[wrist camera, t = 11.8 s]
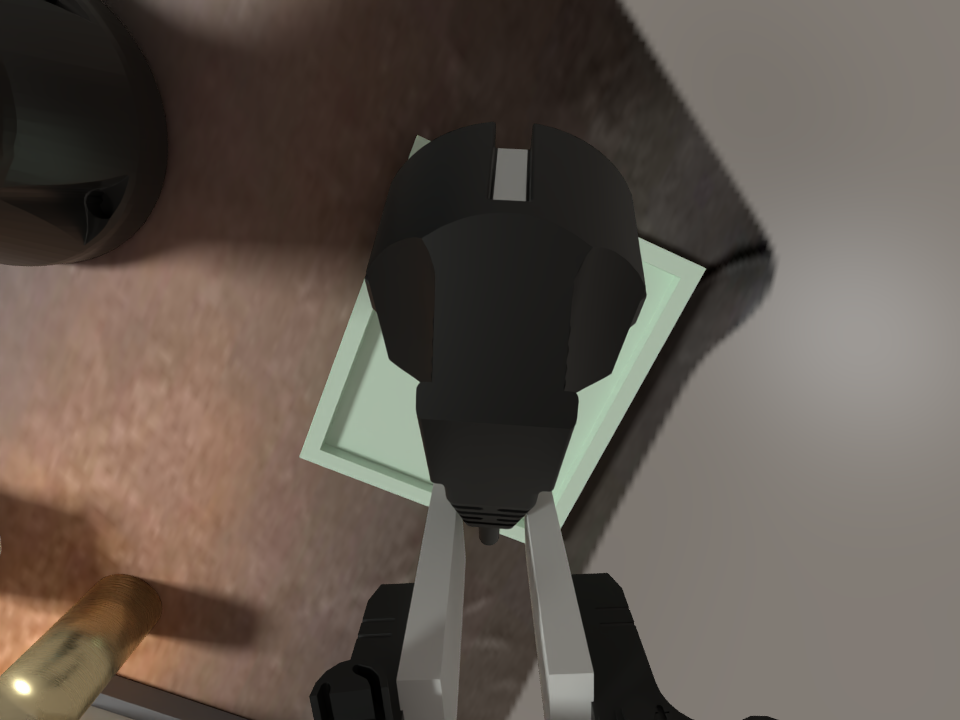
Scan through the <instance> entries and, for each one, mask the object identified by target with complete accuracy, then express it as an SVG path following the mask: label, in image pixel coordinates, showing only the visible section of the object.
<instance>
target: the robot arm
mask: <svg viewBox="0 0 960 720" xmlns="http://www.w3.org/2000/svg"><path fill="white" fill-rule="evenodd" d="M167 155H168V139H167V127H166V120H165V114H164V109H163V105H162V101H161V97H160V94H159V91H158V88H157V85H156V83H155V80H154V78H153V75H152V73H151V71H150V68H149V66H148V64H147V62H146V60H145V58H144V57H143V55H142V53H141V51H140V49H139V48H138V46H137V45H136V43H135V41H134V40H133V38H132V37H131V36H130V34H129V33H128V31H127V30H126V29H125V27H124V26H123V25H122V24H121V22H120V21H119V20H118V19H117V18H116V17H115V15H114V14H113V13H112V12H111V11H110V10H109V9H108V8H107V7H106V6H105V5H104V4H103V3H102V2H101V1H100V0H0V264H5V265H14V266H47V265H55V264H63V263H71V262H78V261H84V260H88V259H91V258H95V257H98V256H100V255H103V254H105V253H107V252H109V251H111V250H113V249H115V248H117V247H118V246H120V245H121V244H123V243H124V242H125V241H127V240H128V239H129V238H130V237H131V236H132V235H133V234H134V233H135V232H136V231H137V230H138V229H139V228H140V227H141V226H142V224H143V223H144V222H145V221H146V219H147V218H148V216H149V215H150V213H151V211H152V209H153V208H154V206H155V204H156V201H157V199H158V197H159V194H160V191H161V188H162V185H163V181H164V177H165V172H166V166H167ZM524 524H525V547H526V561H527V570H528V579H529V587H530V596H531V605H532V614H533V622H534V631H535V640H536V649H537V657H538V666H539V674H540V684H541V692H542V701H543V710H544V718H545V720H693V719H690V718H689V717H687V716H685V715H684V714H682V713H680V712H679V711H678V710H676V709H675V708H674V707H673V706H672V705H670V704H669V702H668V701H667V700H666V699H665V698H664V696H663V695H662V694H661V692H660V690H659V688H658V687H657V684H656V682H655V679H654V677H653V674H652V671H651V668H650V665H649V662H648V660H647V657H646V654H645V651H644V648H643V646H642V643H641V640H640V638H639V635H638V632H637V629H636V626H635V625H634V620H633V618H632V615H631V612H630V610H629V607H628V604H627V601H626V598H625V596H624V593H623V590H622V588H621V587H620V586H619V585H618V583H616V582H615V580H614V579H613V578H612V577H611V576H610V575H609V574H608V573H599V574H598V573H597V574H574V575H571V572H570V568H569V564H568V559H567V555H566V551H565V546H564V542H563V538H562V533H561V529H560V525H559V521H558V516H557V512H556V508H555V503H554V499H553V495H552V491H551V492H545V491H543V492H540V493H539V494H538V498H537V502H536V505H535V506H534V507H533V508H532V509H531V510H530V511H529V512H528V513H527V514H526V515H525V516H524ZM465 561H466V557H465V545H464V533H463V521H462V518H461V517H460V515H459V514H458V513H457V512H456V510H455V509H454V508H453V506H452V505H451V503H449V501H448V500H447V498H446V493H445V488H444V486H443V485H442V484H436V483H433V488H432V494H431V499H430V504H429V510H428V515H427V520H426V526H425V531H424V536H423V542H422V547H421V552H420V557H419V563H418V568H417V573H416V579H415V583H405V584H382V585H381V586H380V587H379V588H378V589H377V591H376V592H375V593H374V594H373V595H372V597H371V598H370V599H369V600H368V603H367V606H366V610H365V613H364V616H363V622H362V623H361V626H360V630H359V633H358V639H357V640H356V643H355V647H354V650H353V653H352V657H351V660H348V661H344V662H341V663H339V664H337V665H336V666H334V667H332V668H331V669H329V670H327V671H326V672H325V673H324V674H323V675H322V677H321V678H320V679H319V680H318V681H317V682H316V683H315V685H314V688H313V690H312V692H311V694H310V696H309V697H310V702H311V707H312V712H313V717H314V720H457V703H458V686H459V668H460V650H461V632H462V615H463V597H464V579H465ZM743 720H777V719H774V718H771V717H768V716H750V717H748V718H746V719H743Z"/></svg>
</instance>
